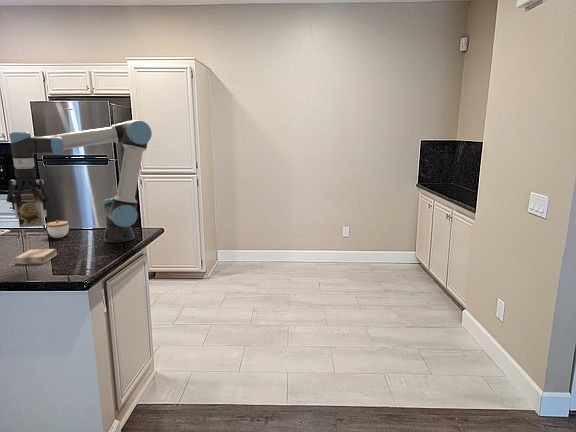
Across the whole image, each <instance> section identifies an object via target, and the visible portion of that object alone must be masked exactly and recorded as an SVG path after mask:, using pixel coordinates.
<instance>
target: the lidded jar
mask: <svg viewBox="0 0 576 432" xmlns="http://www.w3.org/2000/svg"><path fill="white" fill-rule="evenodd" d="M45 224H46V225H45V226H46V229H47V232H48V234H49V236H51V237H52V238H53V239H58V238H63V237H66V235H67V234H68V233H69V229H70V227H69V226H70V225H69V221H66V220H59V219H56V220H55V221H50V222H47V223H45Z"/></svg>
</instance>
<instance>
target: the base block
mask: <svg viewBox="0 0 576 432" xmlns="http://www.w3.org/2000/svg"><path fill="white" fill-rule="evenodd" d="M57 255H58V252H57V248H43V249H42V248H41V249H37V248H36V249H28V250H27V251H24V252H23V253H21V254H19V255H17V256H15V257H14V261H15V265H32V264H34V265H35V264H46V263H47V262H49V261H50V260H51V259H53V258H55V257H57Z"/></svg>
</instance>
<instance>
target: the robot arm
mask: <svg viewBox="0 0 576 432" xmlns="http://www.w3.org/2000/svg"><path fill="white" fill-rule="evenodd" d="M152 136H153V135H152V129H151V127H150V125H149V124H148V123H147V122H145V121H144V120H142V119H141V120H140V119H131V120H127V121H124V122H120V123H116V124H111V126H108V127H101V128H95V129H87V130H82V131H80V130H79V131H74V132H68V133H67V132H66V133H60V134H59V133H58V134H51V135H44V136H32V135H31V133H30V132H28V131H26V132H25V131H19V132H18V131H13V132H11V133H9V139H10V148H11V154H12V160H13V167H14V168H15V169H14V176H15V178H16V179H10V180H8V191H7V196H6V202H7V203H11V206H12V210H13V211H14V212H15V214H14V215H15V218H16V219H19V218H18V211H17V203H16V196H15V191H20V190H32V191H37V190H39V189H41V192H40V193H39V197H40V200H41V202H42V203H40V206H41V214H42V218H44V219H45V218H46V217H48V215H47V210H48V202H51V201H52V198H51V196H50V194H49V190H48V189H47V187H46V185H45V179H37V175H36V168H35V167H36V166H35V158H34V155H41V154H42V155H43V154H44V155H49V154H53V155H56V154H63V153H64V151H65V150H70V149H77V148H78V149H79V148H83V147H84V148H85V147H90V146H91V147H92V146H95V145H96V146H97V145H103V144H108V143H109V144H111V143H116V144H121V145H122V147H123V148H124V151H123V155H122V156H123V157H122V161H121V162H122V163H121V170H120V172H119V173H120V174H119V181H118V185H117V193H116V195H115V196H114V197H112V198H106V199H104V200H103V207H104V216H105V225H106V228H105V231H104V235H103V240H104V242H105V243H107V244H108V243H109V244H118V243H125V242H129V241H132V240H134V239H135V234H134V233H135V232H134V231H133V230H132V227H131V226H132V225H134V224H135V223H136V221H137V219H138V215H139V214H138V212H137V211H138V210H137V205H138V201H137V199H136V193H137V189H138V181H139V176H140V170H141V163H142V159H143V158H142V157H143V154H144V152H145V151H146V150H147V148H148V143H149V141H150V140H151V138H152ZM16 185H18V186H17V188H16ZM38 186H39V187H38Z"/></svg>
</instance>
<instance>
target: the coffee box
mask: <svg viewBox="0 0 576 432" xmlns="http://www.w3.org/2000/svg"><path fill="white" fill-rule="evenodd" d="M38 189H39V190H37V191H32V190H31V189H24V190H20V191H17V190H14V195H15V196H16V203H17V211H18V218H17V219H18V224H19V228H30V227H41V226H42V227H43V226H44V225H45V224H46V221H45V217H44V218H42V214H41V206H40V203H42V202H41V200H40V197H39V193H40V192H41V193H42V191H41V189H40V188H38Z"/></svg>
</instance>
